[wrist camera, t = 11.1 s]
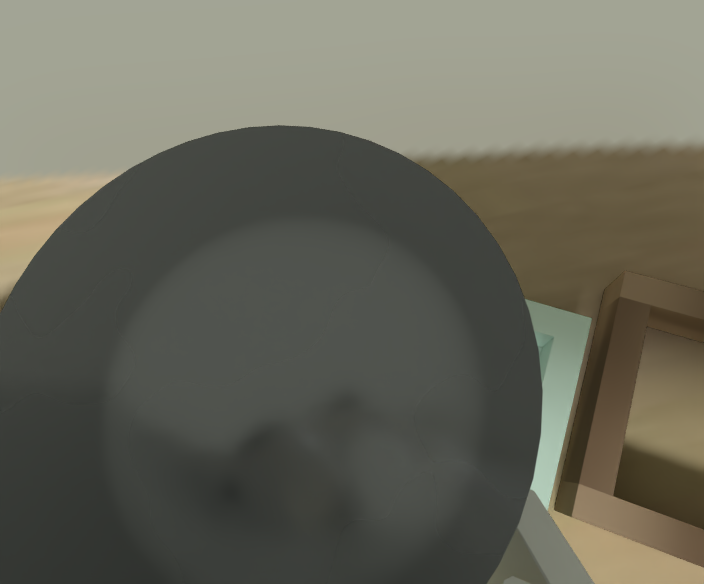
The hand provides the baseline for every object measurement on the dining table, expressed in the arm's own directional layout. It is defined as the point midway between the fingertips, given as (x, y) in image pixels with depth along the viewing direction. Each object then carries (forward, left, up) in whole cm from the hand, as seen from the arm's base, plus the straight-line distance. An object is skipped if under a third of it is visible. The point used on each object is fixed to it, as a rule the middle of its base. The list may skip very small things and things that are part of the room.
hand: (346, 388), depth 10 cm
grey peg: (0, +1, -7) cm, 7 cm away
